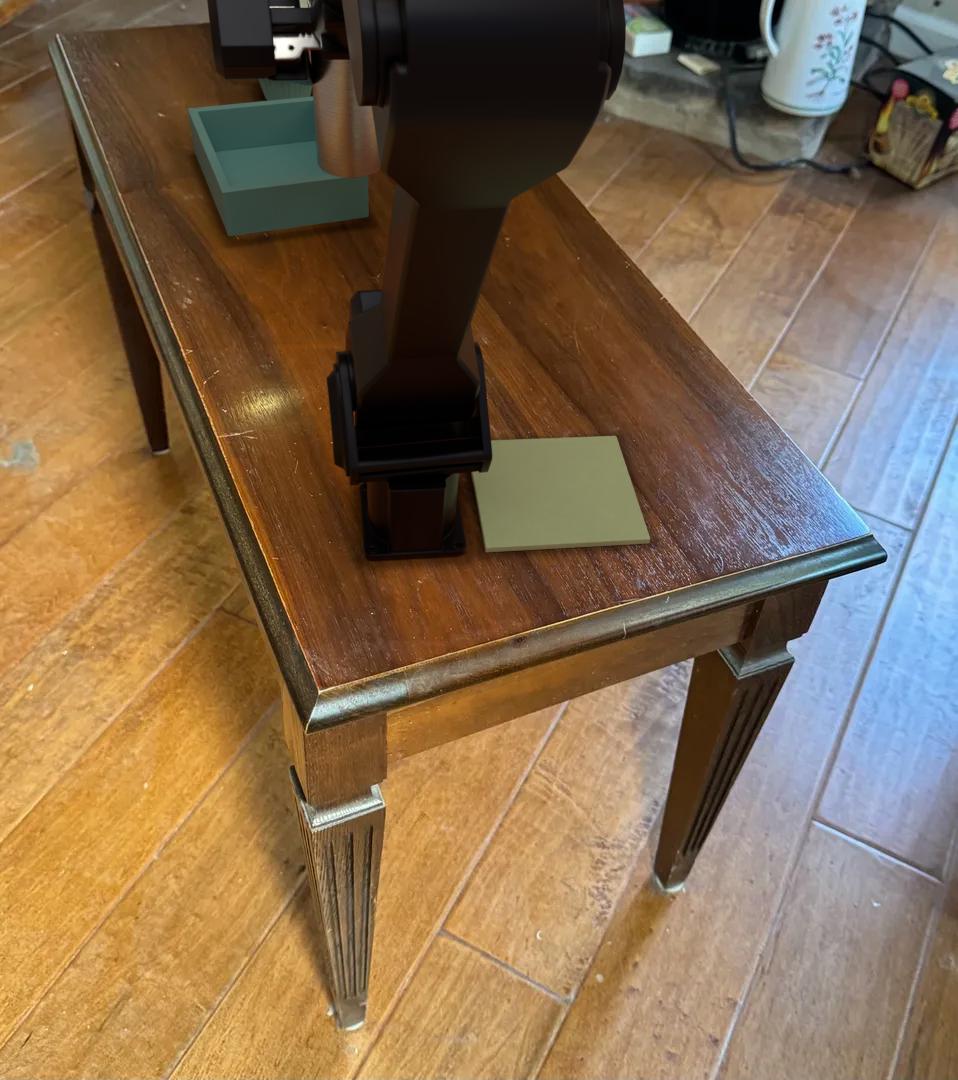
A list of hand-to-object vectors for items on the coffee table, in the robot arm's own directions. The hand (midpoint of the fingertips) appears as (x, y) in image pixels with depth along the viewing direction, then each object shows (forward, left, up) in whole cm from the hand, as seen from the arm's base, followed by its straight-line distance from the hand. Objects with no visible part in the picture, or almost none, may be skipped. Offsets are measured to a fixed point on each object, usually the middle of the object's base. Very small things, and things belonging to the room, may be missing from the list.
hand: (345, 77), depth 72 cm
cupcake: (+30, +5, -15) cm, 34 cm away
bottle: (-1, 0, -6) cm, 6 cm away
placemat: (-30, -13, -15) cm, 36 cm away
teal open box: (+10, +6, -15) cm, 19 cm away
